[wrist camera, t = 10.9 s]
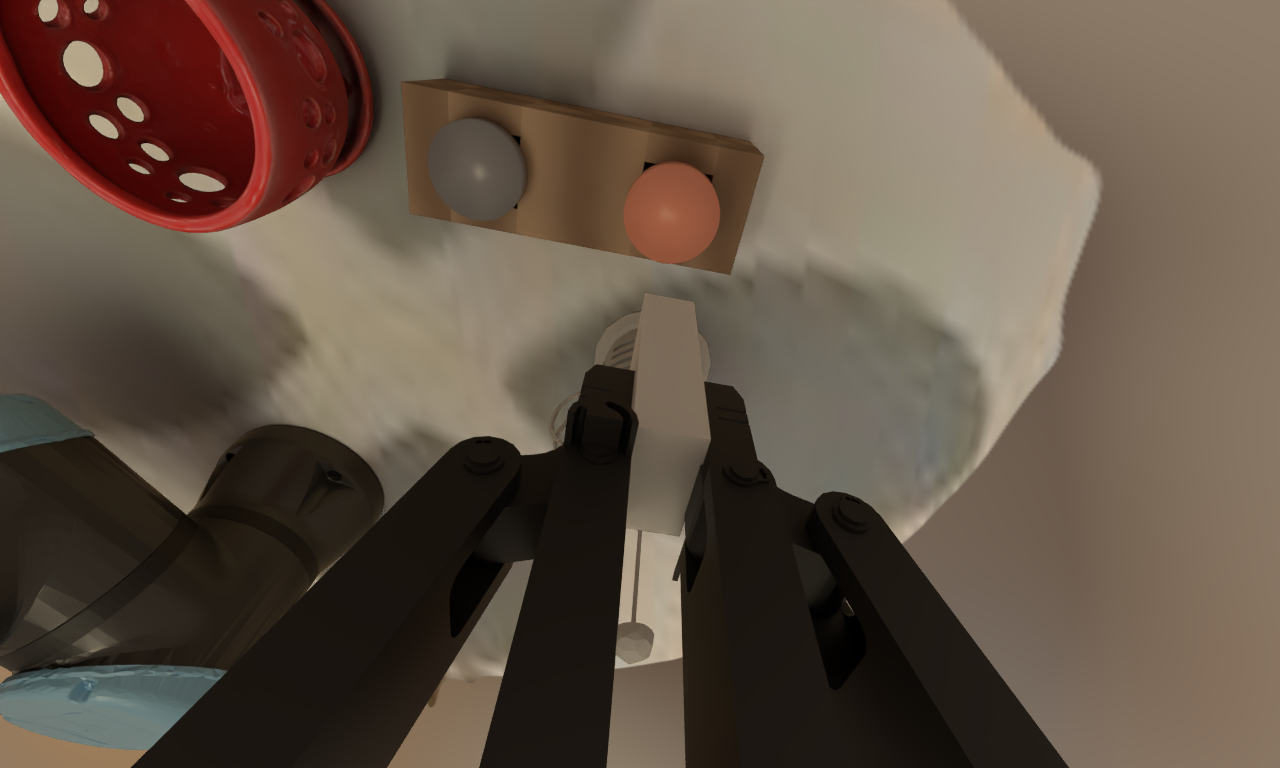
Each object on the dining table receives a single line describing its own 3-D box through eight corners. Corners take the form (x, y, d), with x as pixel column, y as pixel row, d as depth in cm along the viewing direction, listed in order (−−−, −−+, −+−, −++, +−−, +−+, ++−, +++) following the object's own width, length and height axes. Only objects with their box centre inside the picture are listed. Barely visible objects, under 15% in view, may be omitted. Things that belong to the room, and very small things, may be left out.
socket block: (447, 192, 36) (409, 213, 31) (443, 78, 32) (401, 81, 27) (722, 245, 37) (730, 274, 32) (750, 141, 33) (764, 156, 28)
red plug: (626, 220, 35) (616, 254, 29) (639, 138, 32) (632, 155, 26) (700, 235, 35) (706, 271, 29) (720, 154, 32) (731, 175, 26)
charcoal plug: (471, 185, 35) (430, 211, 29) (471, 101, 32) (425, 110, 26) (546, 200, 35) (519, 228, 29) (552, 117, 33) (524, 130, 27)
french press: (710, 410, 45) (743, 720, 24) (580, 412, 46) (501, 713, 25) (711, 307, 40) (755, 588, 18) (565, 312, 40) (447, 585, 19)
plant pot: (188, -105, 28) (-84, -200, 18) (416, 37, 31) (293, 24, 21) (175, 123, 34) (-31, 147, 24) (366, 223, 37) (253, 282, 27)
